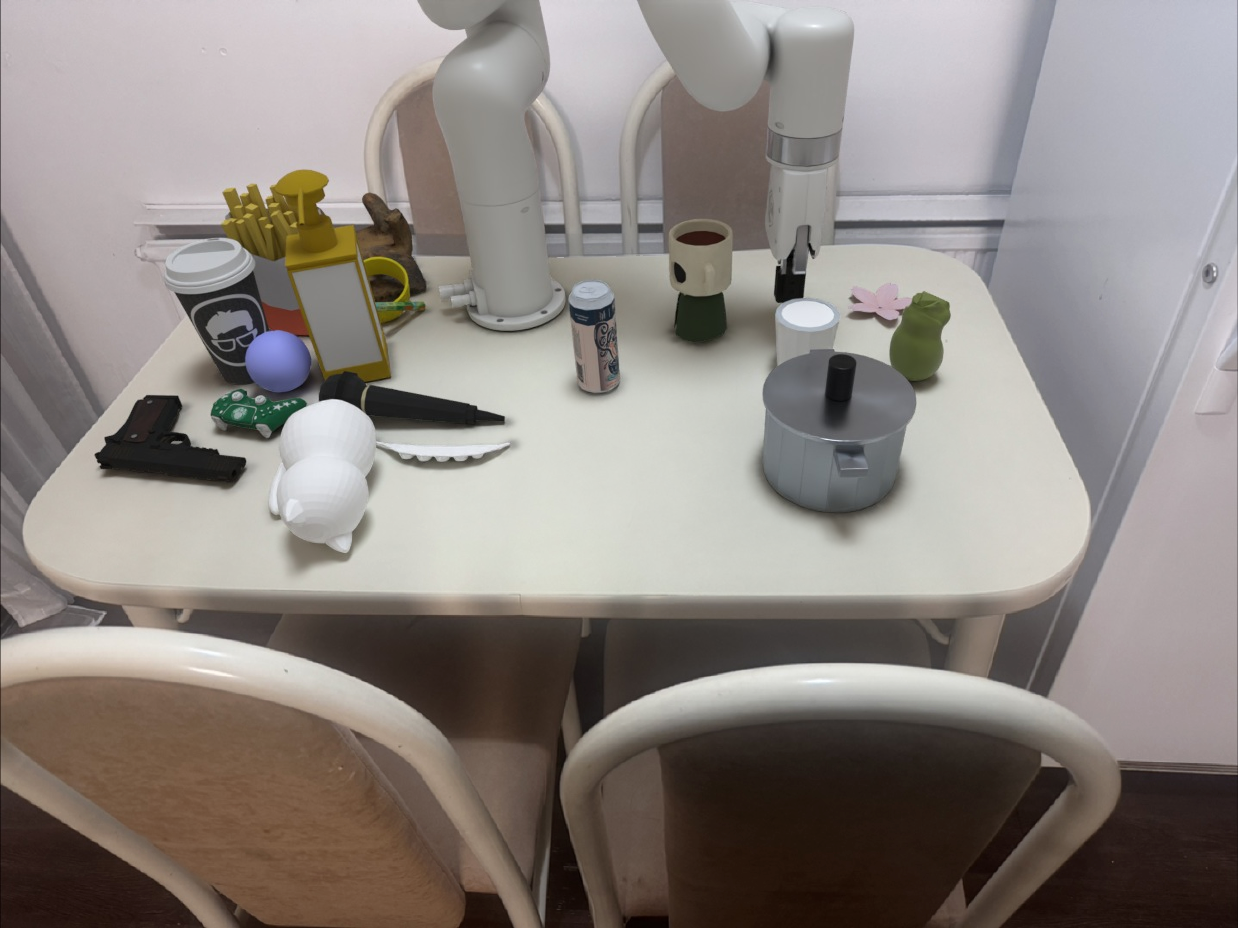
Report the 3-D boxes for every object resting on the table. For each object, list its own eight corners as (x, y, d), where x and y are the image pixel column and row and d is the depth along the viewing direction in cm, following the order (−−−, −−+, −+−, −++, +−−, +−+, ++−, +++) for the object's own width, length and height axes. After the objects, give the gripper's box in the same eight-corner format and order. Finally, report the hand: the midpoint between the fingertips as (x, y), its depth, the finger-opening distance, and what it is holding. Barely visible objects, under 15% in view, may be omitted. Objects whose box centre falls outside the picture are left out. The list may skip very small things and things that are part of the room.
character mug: (663, 313, 107) (660, 214, 99) (719, 306, 108) (721, 207, 99) (679, 361, 99) (678, 259, 91) (740, 354, 100) (744, 251, 91)
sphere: (333, 375, 99) (287, 369, 93) (292, 405, 102) (244, 401, 95) (310, 323, 101) (263, 314, 94) (271, 354, 103) (222, 347, 97)
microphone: (512, 394, 95) (334, 369, 96) (502, 392, 89) (313, 366, 90) (505, 443, 95) (328, 418, 96) (496, 445, 90) (307, 418, 90)
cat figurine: (405, 420, 87) (387, 542, 77) (323, 472, 92) (297, 593, 82) (333, 370, 81) (304, 495, 72) (251, 429, 87) (213, 552, 77)
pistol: (290, 420, 96) (232, 489, 87) (150, 405, 99) (79, 471, 90) (284, 403, 95) (225, 471, 86) (142, 388, 98) (70, 453, 88)
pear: (875, 374, 95) (889, 294, 89) (907, 355, 98) (922, 276, 91) (917, 396, 92) (934, 315, 85) (948, 377, 94) (967, 296, 88)
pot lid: (770, 453, 74) (773, 411, 71) (755, 363, 85) (757, 322, 82) (931, 448, 74) (941, 405, 71) (896, 358, 84) (903, 317, 81)
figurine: (380, 177, 123) (425, 235, 110) (397, 225, 129) (442, 286, 115) (290, 210, 120) (325, 274, 107) (312, 258, 126) (348, 324, 112)
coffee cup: (307, 352, 105) (266, 238, 96) (258, 397, 99) (210, 281, 89) (242, 341, 108) (197, 230, 98) (191, 385, 101) (137, 270, 92)
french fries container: (339, 337, 107) (295, 199, 95) (258, 335, 109) (204, 199, 97) (353, 318, 111) (312, 182, 99) (273, 316, 112) (223, 182, 100)
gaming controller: (298, 382, 94) (269, 422, 90) (311, 407, 97) (283, 446, 93) (226, 371, 96) (195, 410, 92) (241, 395, 99) (211, 433, 95)
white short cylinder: (770, 350, 100) (773, 296, 95) (830, 349, 99) (837, 296, 95) (773, 385, 95) (777, 330, 90) (836, 385, 94) (844, 330, 90)
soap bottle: (328, 417, 95) (256, 215, 79) (326, 355, 104) (262, 164, 89) (394, 403, 96) (336, 202, 81) (386, 344, 105) (333, 153, 90)
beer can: (615, 397, 95) (608, 302, 87) (573, 394, 96) (562, 299, 88) (624, 372, 98) (617, 278, 90) (583, 369, 99) (573, 276, 91)
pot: (773, 535, 78) (779, 464, 72) (754, 412, 91) (758, 345, 86) (915, 532, 77) (932, 460, 72) (875, 409, 91) (887, 340, 85)
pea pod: (502, 452, 86) (503, 466, 86) (510, 436, 90) (511, 450, 91) (355, 451, 87) (357, 466, 87) (369, 436, 91) (371, 450, 92)
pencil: (322, 299, 95) (422, 299, 111) (316, 306, 96) (417, 304, 112) (328, 309, 95) (428, 307, 111) (322, 315, 95) (422, 312, 112)
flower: (818, 303, 107) (819, 292, 106) (879, 279, 111) (880, 268, 110) (874, 339, 100) (876, 327, 99) (937, 312, 104) (939, 301, 103)
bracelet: (385, 317, 106) (388, 332, 109) (420, 273, 110) (421, 288, 113) (334, 291, 107) (337, 307, 110) (370, 247, 110) (373, 264, 113)
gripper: (758, 118, 95) (749, 269, 107) (775, 174, 84) (763, 335, 96) (827, 115, 94) (810, 266, 107) (854, 171, 83) (831, 333, 95)
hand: (788, 298), depth 101 cm, fingers closed
